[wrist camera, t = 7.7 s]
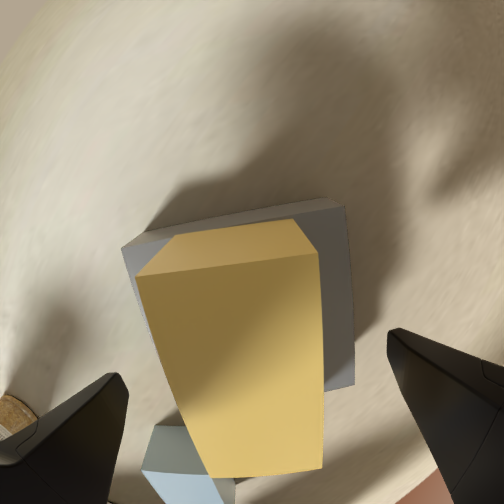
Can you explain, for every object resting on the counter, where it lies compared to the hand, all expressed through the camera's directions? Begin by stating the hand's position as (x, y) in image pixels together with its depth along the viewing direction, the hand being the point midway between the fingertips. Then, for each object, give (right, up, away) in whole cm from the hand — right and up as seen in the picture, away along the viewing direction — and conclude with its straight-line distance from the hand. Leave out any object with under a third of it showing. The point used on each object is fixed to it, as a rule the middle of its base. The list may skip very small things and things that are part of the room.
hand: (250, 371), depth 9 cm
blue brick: (-4, -11, +9) cm, 14 cm away
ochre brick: (0, +1, +2) cm, 2 cm away
